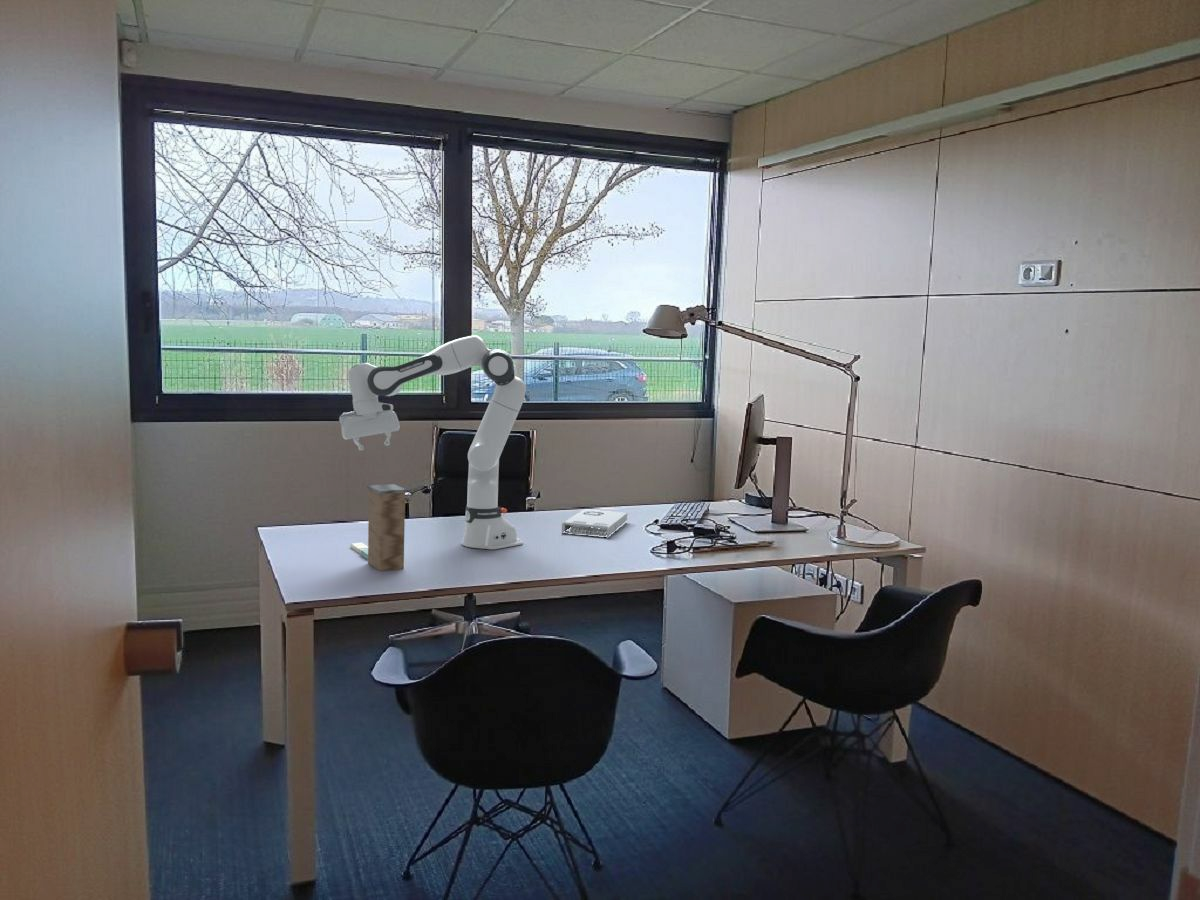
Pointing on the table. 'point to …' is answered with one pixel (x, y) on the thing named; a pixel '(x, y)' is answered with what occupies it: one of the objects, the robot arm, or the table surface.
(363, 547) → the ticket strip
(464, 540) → the robot arm
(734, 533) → the table surface
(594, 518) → the power supply unit
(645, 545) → the table surface
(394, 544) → the walnut stand
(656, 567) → the table surface
